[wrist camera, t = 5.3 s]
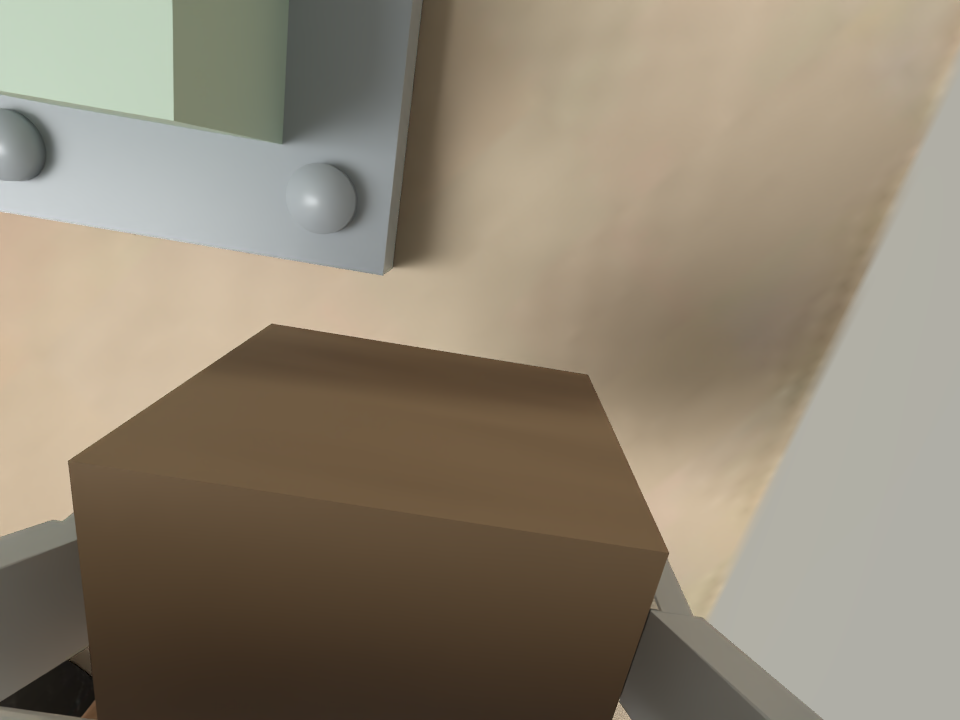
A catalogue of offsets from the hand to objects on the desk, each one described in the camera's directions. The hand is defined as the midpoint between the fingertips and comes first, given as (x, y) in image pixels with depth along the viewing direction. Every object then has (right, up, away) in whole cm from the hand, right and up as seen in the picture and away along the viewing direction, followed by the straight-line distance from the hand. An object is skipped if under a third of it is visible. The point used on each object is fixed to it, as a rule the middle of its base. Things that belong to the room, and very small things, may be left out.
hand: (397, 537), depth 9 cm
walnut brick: (0, +1, +2) cm, 2 cm away
